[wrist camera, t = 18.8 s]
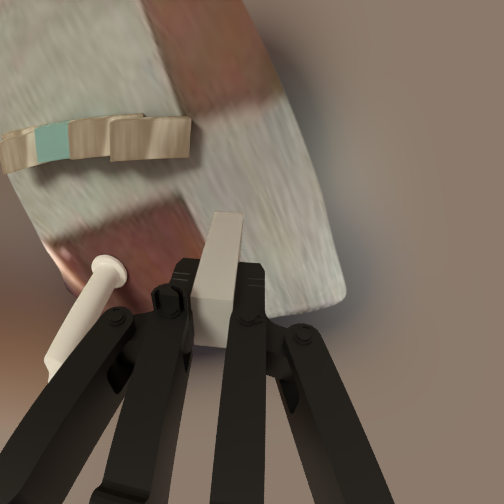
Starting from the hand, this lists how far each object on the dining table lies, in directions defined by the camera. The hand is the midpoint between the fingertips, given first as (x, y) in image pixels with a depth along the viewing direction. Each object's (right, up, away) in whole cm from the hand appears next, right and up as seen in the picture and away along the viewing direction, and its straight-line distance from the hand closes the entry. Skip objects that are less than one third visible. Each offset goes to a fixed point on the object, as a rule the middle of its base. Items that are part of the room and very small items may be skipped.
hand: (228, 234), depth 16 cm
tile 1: (-7, +14, +19) cm, 24 cm away
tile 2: (-13, +15, +19) cm, 27 cm away
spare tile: (-19, +15, +19) cm, 31 cm away
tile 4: (-27, +15, +18) cm, 36 cm away
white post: (-24, -4, +33) cm, 41 cm away
